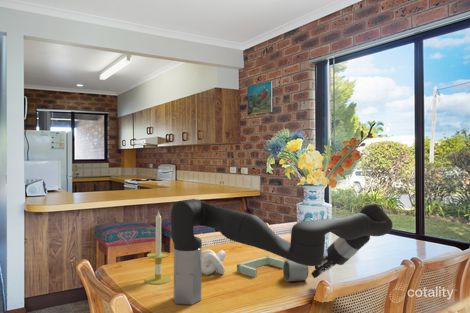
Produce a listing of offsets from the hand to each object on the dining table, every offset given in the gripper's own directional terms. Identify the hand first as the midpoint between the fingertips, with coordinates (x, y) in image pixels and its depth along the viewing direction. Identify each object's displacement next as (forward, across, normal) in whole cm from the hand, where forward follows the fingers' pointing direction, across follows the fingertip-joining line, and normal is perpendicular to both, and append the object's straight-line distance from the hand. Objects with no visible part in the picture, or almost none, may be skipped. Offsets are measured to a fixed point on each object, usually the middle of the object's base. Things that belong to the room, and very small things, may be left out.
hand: (313, 275), depth 135 cm
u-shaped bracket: (+21, 0, +16) cm, 27 cm away
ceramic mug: (+10, 0, +4) cm, 11 cm away
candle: (+34, -39, +29) cm, 59 cm away
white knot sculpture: (+28, -18, +23) cm, 41 cm away
